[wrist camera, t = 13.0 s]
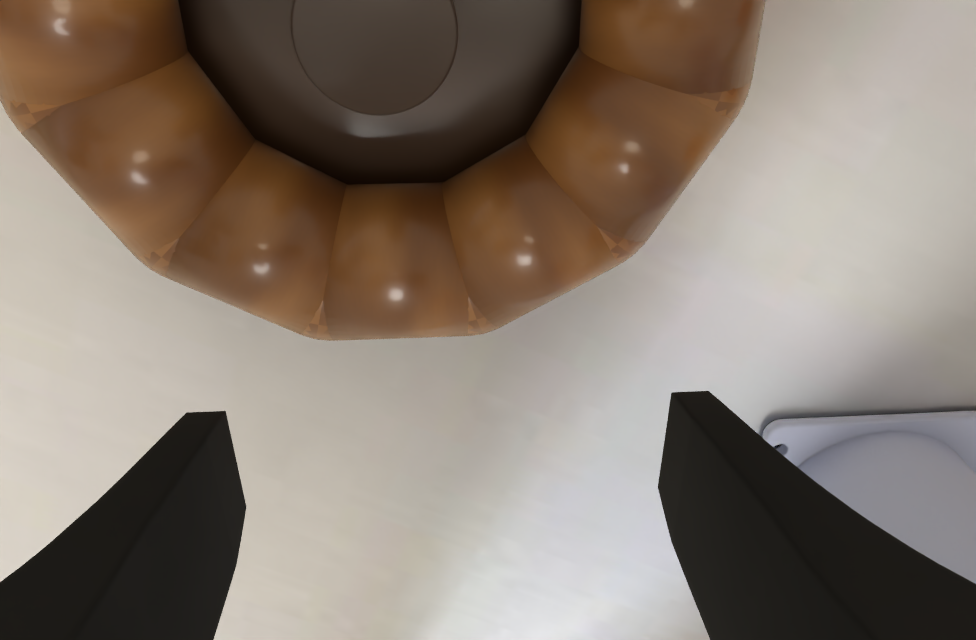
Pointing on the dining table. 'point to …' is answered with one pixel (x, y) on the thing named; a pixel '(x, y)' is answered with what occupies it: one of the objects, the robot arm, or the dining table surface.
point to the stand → (384, 77)
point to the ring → (376, 207)
